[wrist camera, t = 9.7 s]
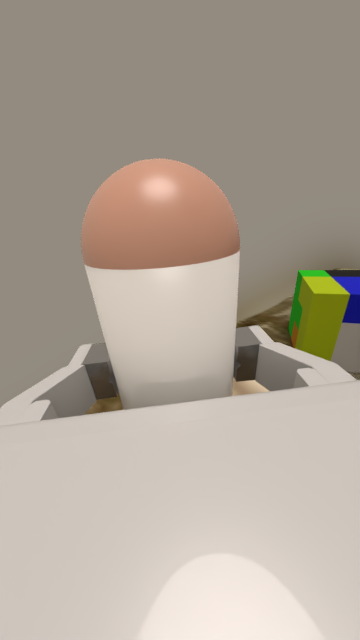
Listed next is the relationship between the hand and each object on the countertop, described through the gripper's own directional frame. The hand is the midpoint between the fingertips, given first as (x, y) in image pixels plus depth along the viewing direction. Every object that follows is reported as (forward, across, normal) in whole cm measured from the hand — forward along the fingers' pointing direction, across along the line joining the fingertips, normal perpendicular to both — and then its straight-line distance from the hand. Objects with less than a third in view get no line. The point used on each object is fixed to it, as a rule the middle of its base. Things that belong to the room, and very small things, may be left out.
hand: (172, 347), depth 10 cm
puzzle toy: (+15, -23, +13) cm, 30 cm away
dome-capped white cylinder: (-1, 0, +8) cm, 8 cm away
